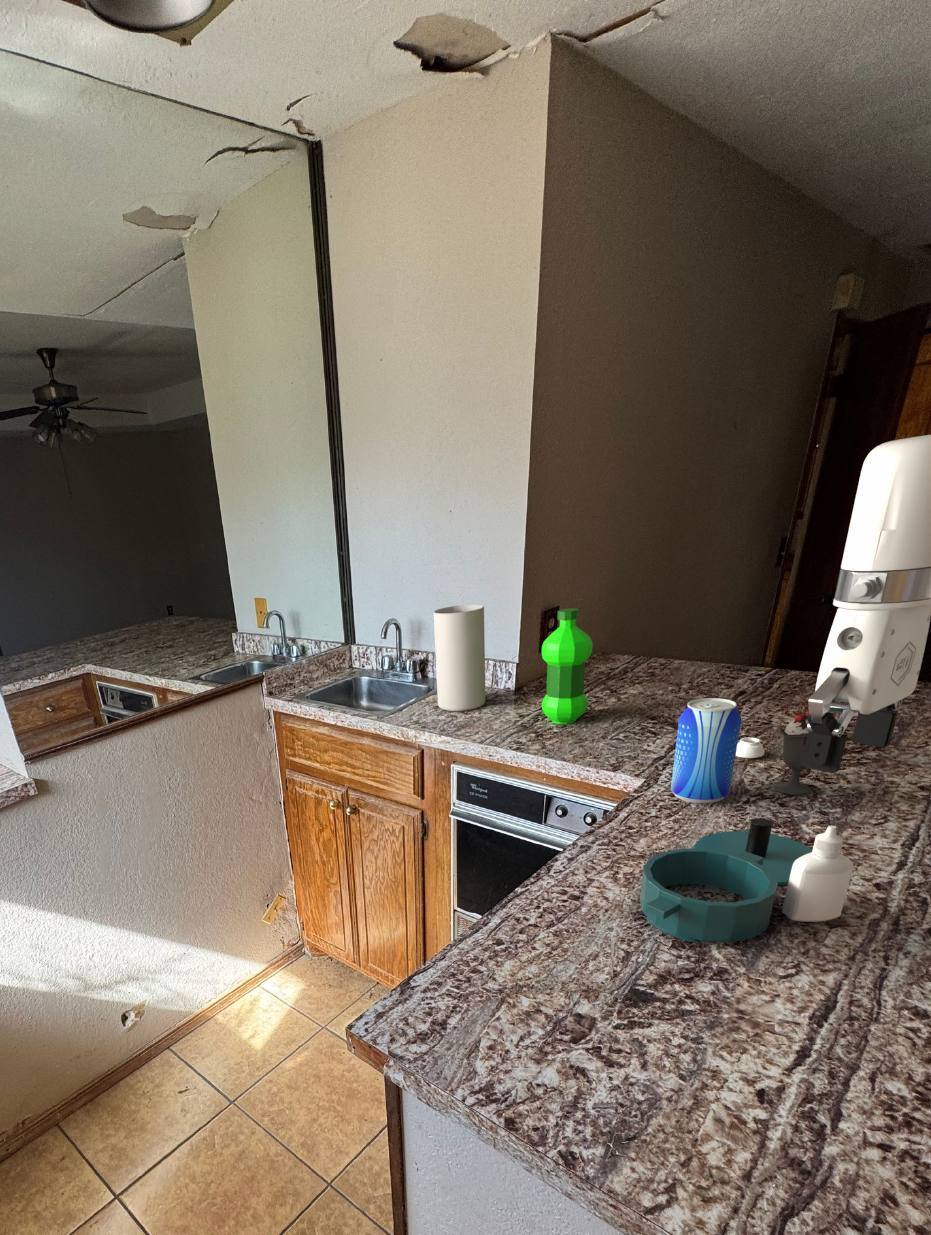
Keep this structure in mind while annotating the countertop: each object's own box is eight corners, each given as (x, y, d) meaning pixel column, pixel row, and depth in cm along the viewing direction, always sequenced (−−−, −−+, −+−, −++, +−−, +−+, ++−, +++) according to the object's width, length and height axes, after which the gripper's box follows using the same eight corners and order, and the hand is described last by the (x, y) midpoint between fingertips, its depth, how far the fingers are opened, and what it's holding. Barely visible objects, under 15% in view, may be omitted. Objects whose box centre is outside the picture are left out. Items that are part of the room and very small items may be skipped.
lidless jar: (737, 760, 119) (768, 759, 118) (740, 745, 117) (771, 743, 116) (727, 751, 123) (757, 749, 122) (729, 736, 122) (759, 734, 121)
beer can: (669, 786, 113) (680, 696, 106) (726, 788, 109) (741, 696, 102) (670, 806, 107) (681, 711, 100) (730, 809, 103) (746, 711, 96)
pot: (806, 908, 78) (815, 869, 76) (707, 970, 71) (714, 929, 69) (697, 867, 89) (702, 832, 87) (602, 917, 82) (605, 880, 80)
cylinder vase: (450, 715, 168) (446, 615, 157) (430, 704, 179) (425, 611, 168) (494, 705, 170) (493, 606, 159) (472, 696, 181) (469, 603, 170)
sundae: (766, 794, 105) (784, 705, 99) (769, 779, 110) (786, 693, 104) (817, 799, 102) (839, 706, 95) (817, 783, 106) (838, 694, 100)
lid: (844, 863, 86) (855, 821, 83) (780, 902, 80) (789, 859, 77) (732, 828, 98) (739, 791, 95) (669, 860, 92) (674, 821, 89)
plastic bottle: (558, 711, 158) (562, 605, 147) (597, 718, 150) (604, 606, 139) (531, 722, 154) (533, 613, 143) (569, 730, 146) (574, 615, 135)
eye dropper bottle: (842, 931, 74) (867, 838, 68) (781, 922, 77) (801, 832, 71) (838, 911, 77) (862, 821, 72) (780, 903, 80) (799, 815, 75)
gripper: (887, 604, 55) (841, 789, 62) (981, 571, 61) (930, 742, 69) (790, 601, 61) (759, 771, 68) (885, 572, 67) (847, 729, 75)
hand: (845, 756), depth 69 cm, fingers open, 9 cm apart
